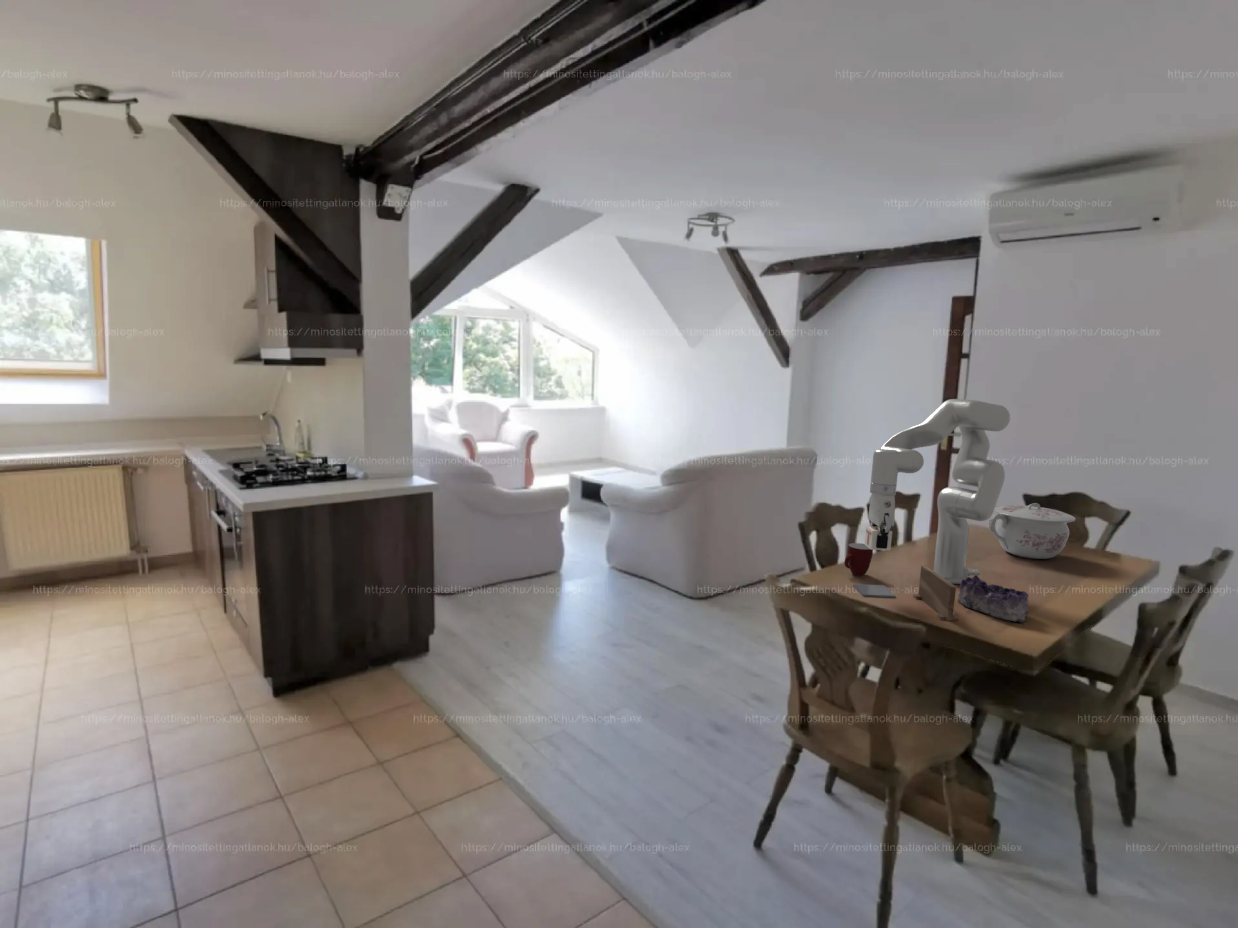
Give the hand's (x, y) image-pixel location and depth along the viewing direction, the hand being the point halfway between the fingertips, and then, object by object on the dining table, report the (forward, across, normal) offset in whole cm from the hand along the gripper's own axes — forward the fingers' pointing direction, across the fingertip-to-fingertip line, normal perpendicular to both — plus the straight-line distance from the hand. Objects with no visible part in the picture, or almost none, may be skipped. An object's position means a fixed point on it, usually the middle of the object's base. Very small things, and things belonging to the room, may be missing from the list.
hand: (877, 544), depth 211 cm
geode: (+16, -14, -30) cm, 37 cm away
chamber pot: (+15, +53, -78) cm, 96 cm away
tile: (+15, 0, 0) cm, 15 cm away
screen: (+15, -13, -14) cm, 24 cm away
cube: (+1, 0, 0) cm, 1 cm away
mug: (+15, +17, 0) cm, 23 cm away
